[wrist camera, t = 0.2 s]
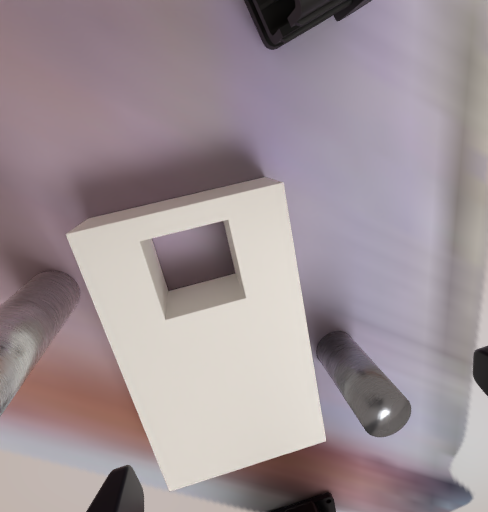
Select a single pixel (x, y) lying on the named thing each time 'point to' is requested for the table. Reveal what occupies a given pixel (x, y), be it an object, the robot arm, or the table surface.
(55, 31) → the table surface
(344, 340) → the short pin
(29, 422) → the table surface
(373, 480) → the table surface
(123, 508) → the robot arm
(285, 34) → the end cap
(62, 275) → the long pin
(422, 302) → the table surface
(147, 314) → the hole plate
